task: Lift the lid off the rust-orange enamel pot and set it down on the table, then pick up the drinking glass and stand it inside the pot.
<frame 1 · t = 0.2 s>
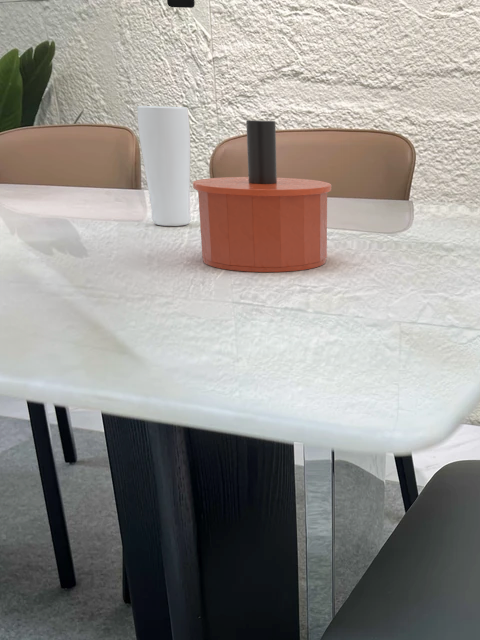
hand: (170, 2, 88), 26 cm above the table, tool pointing down, fingers open, 9 cm apart
pot: (265, 260, 86), on the table
drinking glass: (172, 225, 109), on the table
lid: (262, 188, 83), point 7 cm above the table, touching pot
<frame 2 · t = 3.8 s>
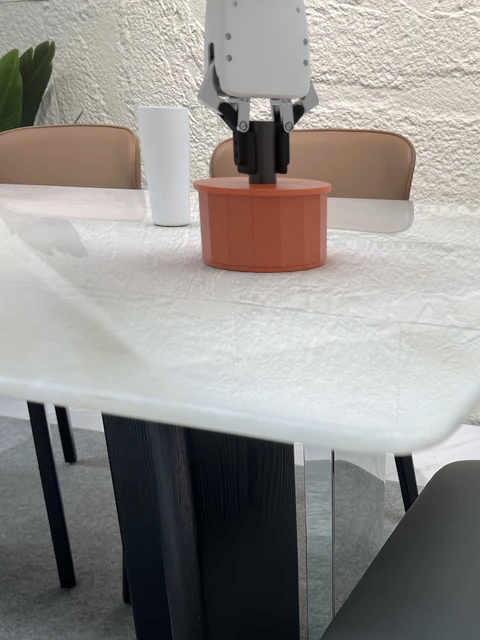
hand: (262, 171, 82), 9 cm above the table, tool pointing down, fingers closed on lid, 3 cm apart
lid: (262, 188, 83), point 8 cm above the table, touching gripper, pot
everything else where it was.
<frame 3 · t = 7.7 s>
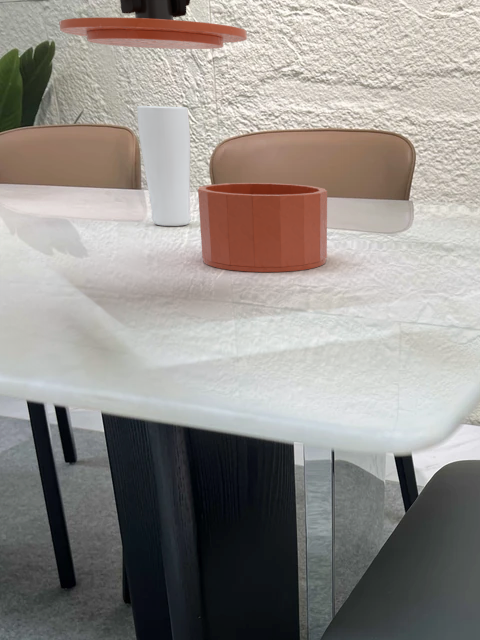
hand: (153, 11, 62), 22 cm above the table, tool pointing down, fingers closed on lid, 3 cm apart
lid: (155, 35, 63), point 20 cm above the table, touching gripper
everything else where it was.
when the fingers open (2 cm above the table, at t = 12.1 s): lid stays where it is, point 1 cm above the table.
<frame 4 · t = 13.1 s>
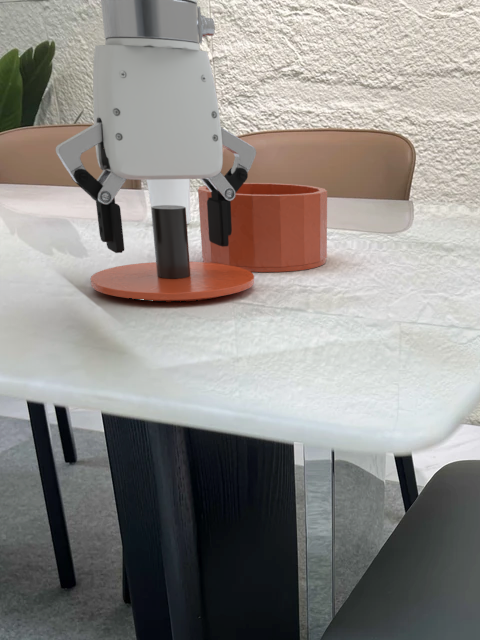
hand: (169, 247, 70), 4 cm above the table, tool pointing down, fingers open, 9 cm apart
lid: (174, 282, 71), point 1 cm above the table
everything else where it was.
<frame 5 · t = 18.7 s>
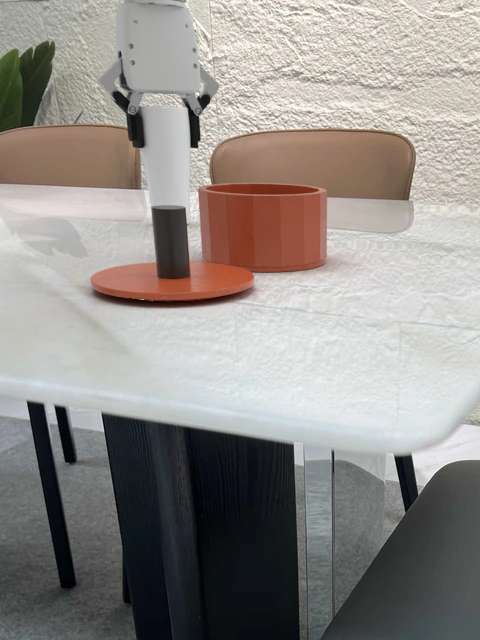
hand: (165, 146, 105), 10 cm above the table, tool pointing down, fingers closed on drinking glass, 6 cm apart
drinking glass: (172, 225, 109), on the table, touching gripper
everything else where it was.
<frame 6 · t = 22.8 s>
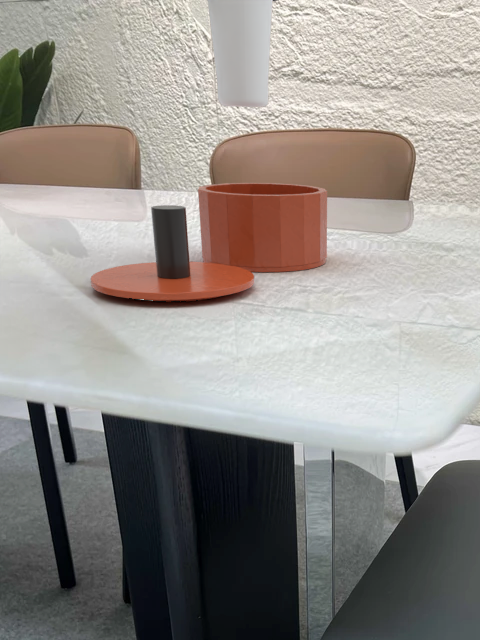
drinking glass: (243, 108, 82), point 15 cm above the table, touching gripper
everything else where it was.
when the fingers open (11 cm above the table, at t = 27.1 s): drinking glass stays where it is, resting on pot.
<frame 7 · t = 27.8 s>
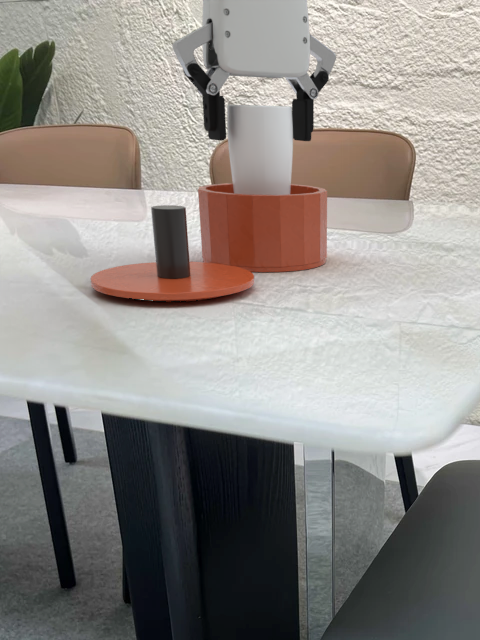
hand: (260, 140, 80), 12 cm above the table, tool pointing down, fingers open, 9 cm apart
drinking glass: (264, 257, 86), resting on pot
everything else where it was.
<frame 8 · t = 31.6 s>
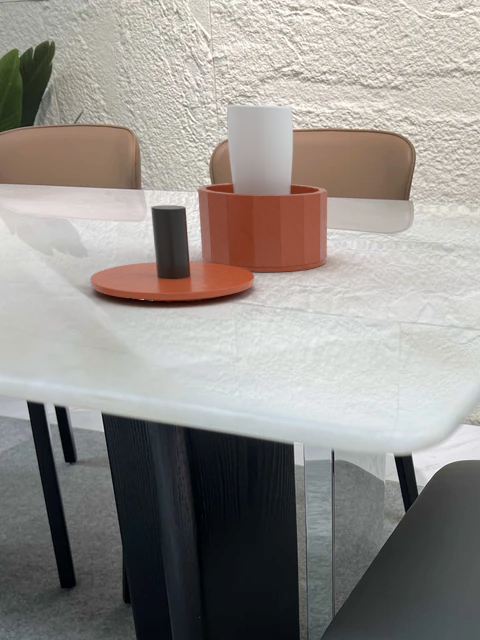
nothing on the table moved.
at the end: lid inside the target area (0.1 cm from its centre), point 0.6 cm above the table; drinking glass 0.1 cm off-centre in the pot, point 0.3 cm above the pot's base; drinking glass tilted 0° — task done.
